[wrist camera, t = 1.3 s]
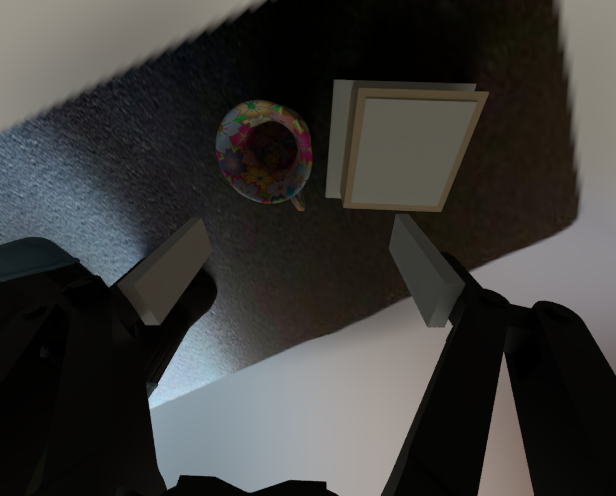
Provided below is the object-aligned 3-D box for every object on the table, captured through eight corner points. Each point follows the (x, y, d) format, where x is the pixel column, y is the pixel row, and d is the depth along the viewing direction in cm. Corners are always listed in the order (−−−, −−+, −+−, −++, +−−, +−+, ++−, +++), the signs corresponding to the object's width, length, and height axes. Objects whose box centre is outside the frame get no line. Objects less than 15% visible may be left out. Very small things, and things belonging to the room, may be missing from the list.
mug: (232, 127, 29) (194, 137, 20) (291, 84, 26) (277, 74, 17) (281, 202, 34) (268, 236, 26) (334, 173, 32) (340, 200, 23)
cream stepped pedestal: (325, 194, 33) (326, 215, 27) (333, 80, 26) (338, 73, 20) (429, 198, 33) (454, 220, 27) (470, 84, 25) (518, 78, 19)
